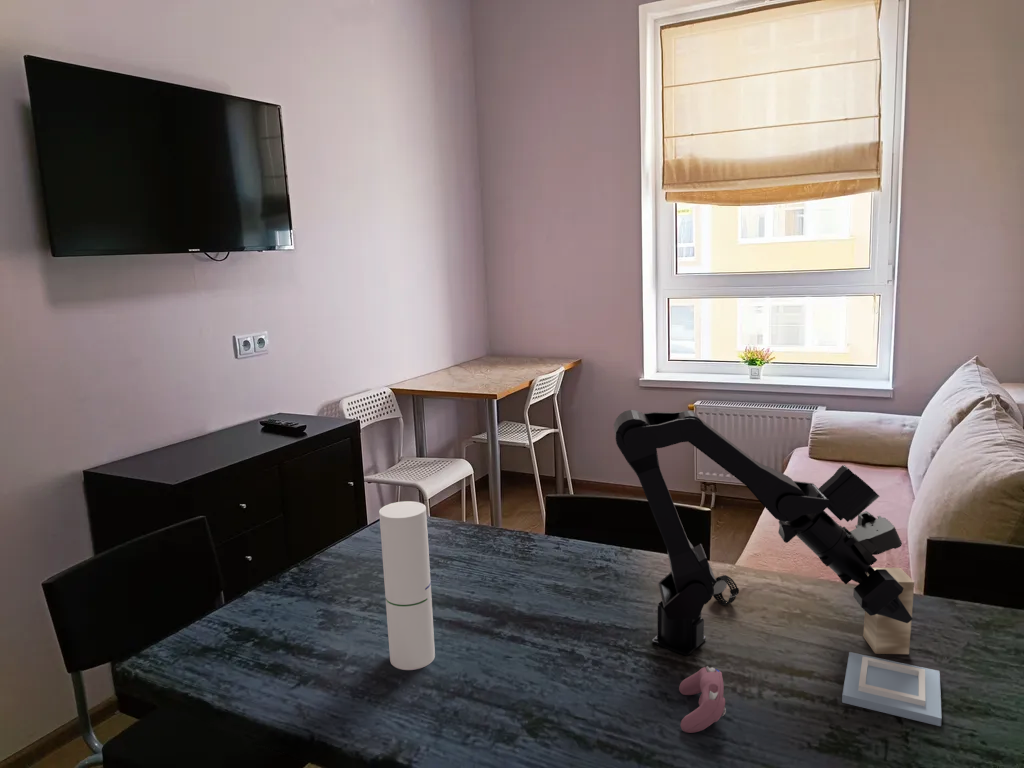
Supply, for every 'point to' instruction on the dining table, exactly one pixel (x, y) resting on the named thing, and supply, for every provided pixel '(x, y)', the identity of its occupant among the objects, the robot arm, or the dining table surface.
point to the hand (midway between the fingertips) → (897, 605)
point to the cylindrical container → (407, 584)
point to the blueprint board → (893, 688)
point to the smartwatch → (720, 587)
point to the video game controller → (704, 699)
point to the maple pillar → (891, 621)
